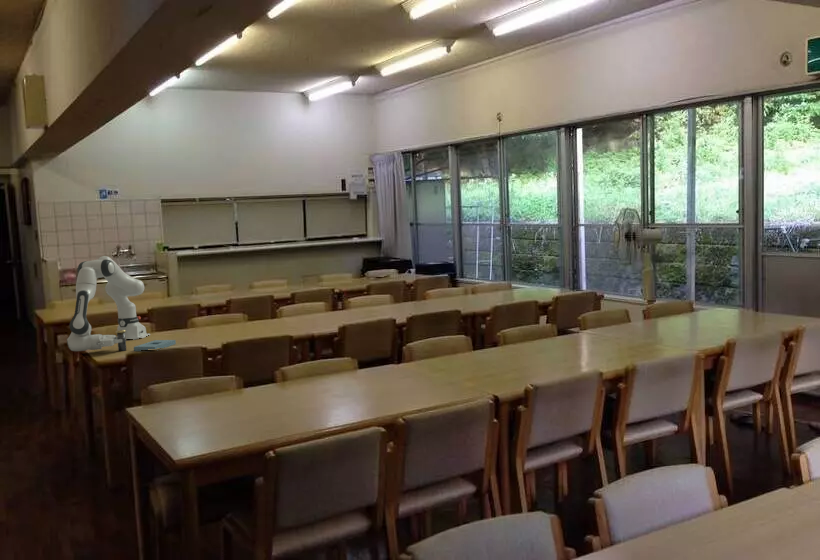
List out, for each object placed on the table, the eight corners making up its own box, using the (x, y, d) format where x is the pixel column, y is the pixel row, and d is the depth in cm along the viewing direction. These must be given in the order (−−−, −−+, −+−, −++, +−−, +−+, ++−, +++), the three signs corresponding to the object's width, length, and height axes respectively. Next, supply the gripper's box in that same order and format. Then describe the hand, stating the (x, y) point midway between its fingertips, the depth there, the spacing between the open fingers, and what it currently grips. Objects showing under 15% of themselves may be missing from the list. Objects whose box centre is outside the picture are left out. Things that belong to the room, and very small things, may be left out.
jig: (155, 344, 445) (154, 340, 445) (175, 343, 442) (175, 339, 442) (133, 351, 424) (133, 346, 424) (155, 350, 421) (154, 346, 421)
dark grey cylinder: (121, 349, 432) (119, 329, 430) (129, 349, 430) (127, 329, 429) (115, 351, 426) (113, 331, 425) (123, 351, 425) (121, 331, 424)
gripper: (95, 339, 414) (121, 336, 418) (99, 334, 433) (124, 331, 437) (96, 350, 414) (122, 347, 418) (100, 344, 434) (124, 342, 438)
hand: (123, 339), depth 428 cm, fingers open, 7 cm apart
